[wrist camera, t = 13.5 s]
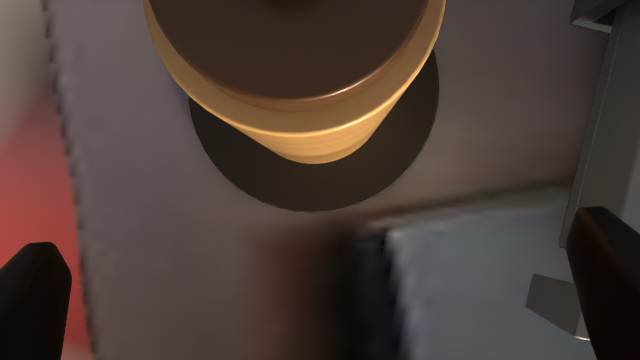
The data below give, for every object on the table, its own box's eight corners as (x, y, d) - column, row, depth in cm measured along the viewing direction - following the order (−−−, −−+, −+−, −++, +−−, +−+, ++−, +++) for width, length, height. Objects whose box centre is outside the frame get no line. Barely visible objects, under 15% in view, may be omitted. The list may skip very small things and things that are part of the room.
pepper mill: (398, 150, 21) (518, 80, 7) (254, 175, 21) (115, 152, 7) (372, 6, 21) (445, -319, 7) (229, 32, 21) (48, -243, 8)
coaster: (418, 228, 21) (420, 229, 21) (174, 193, 21) (171, 193, 21) (453, -17, 21) (455, -21, 21) (209, -50, 21) (207, -54, 21)
